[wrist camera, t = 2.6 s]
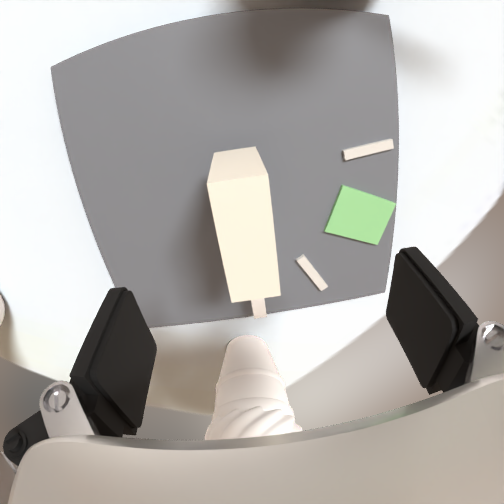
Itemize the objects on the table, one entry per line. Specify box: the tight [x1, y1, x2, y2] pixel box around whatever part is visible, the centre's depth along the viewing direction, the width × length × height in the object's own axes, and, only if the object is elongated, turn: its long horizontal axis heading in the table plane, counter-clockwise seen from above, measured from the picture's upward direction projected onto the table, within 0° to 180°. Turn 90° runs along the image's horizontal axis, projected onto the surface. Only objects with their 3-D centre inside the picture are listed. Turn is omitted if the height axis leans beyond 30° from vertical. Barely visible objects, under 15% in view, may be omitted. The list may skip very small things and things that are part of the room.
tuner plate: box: [51, 8, 399, 328], centre depth 21 cm, size 24×24×2 cm
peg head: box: [207, 147, 281, 319], centre depth 18 cm, size 13×2×8 cm, turn 7°
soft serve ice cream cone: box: [204, 335, 302, 440], centre depth 24 cm, size 8×8×16 cm
